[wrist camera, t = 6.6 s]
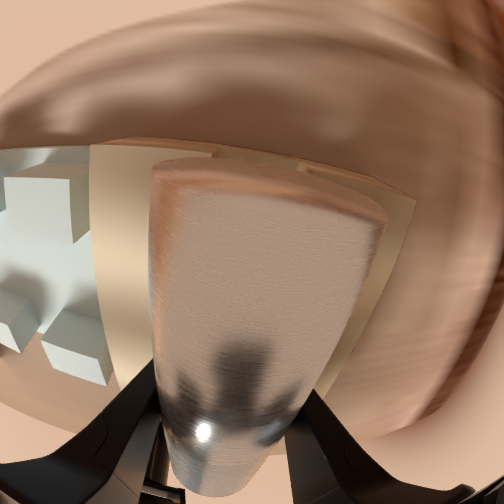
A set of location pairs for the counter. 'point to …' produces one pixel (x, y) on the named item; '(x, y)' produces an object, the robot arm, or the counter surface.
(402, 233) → the beech v-block
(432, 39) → the counter surface
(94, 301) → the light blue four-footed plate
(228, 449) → the steel axle
